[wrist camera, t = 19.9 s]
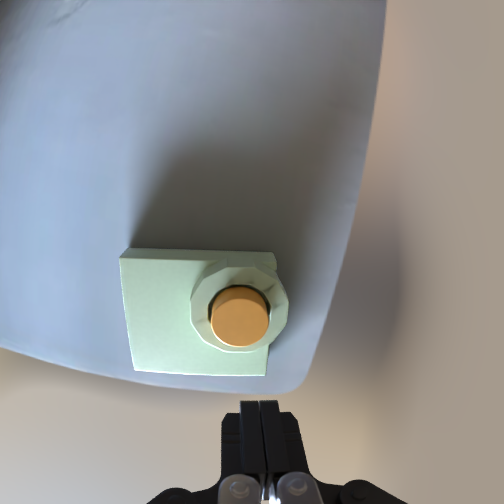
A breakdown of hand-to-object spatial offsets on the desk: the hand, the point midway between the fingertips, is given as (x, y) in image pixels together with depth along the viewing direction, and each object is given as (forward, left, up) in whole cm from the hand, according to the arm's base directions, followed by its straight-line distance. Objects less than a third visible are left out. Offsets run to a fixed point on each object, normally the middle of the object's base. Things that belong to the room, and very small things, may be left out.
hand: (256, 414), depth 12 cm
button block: (+3, +2, -13) cm, 14 cm away
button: (0, 0, -10) cm, 10 cm away
